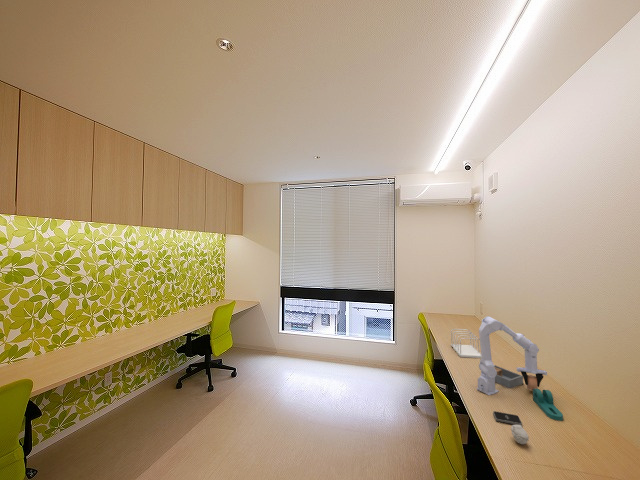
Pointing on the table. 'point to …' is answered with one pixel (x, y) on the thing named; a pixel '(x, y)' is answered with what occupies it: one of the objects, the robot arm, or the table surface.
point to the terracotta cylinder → (532, 382)
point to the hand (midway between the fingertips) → (532, 385)
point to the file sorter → (465, 349)
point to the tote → (508, 378)
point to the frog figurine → (519, 434)
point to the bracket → (547, 404)
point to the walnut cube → (498, 371)
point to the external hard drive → (507, 418)
